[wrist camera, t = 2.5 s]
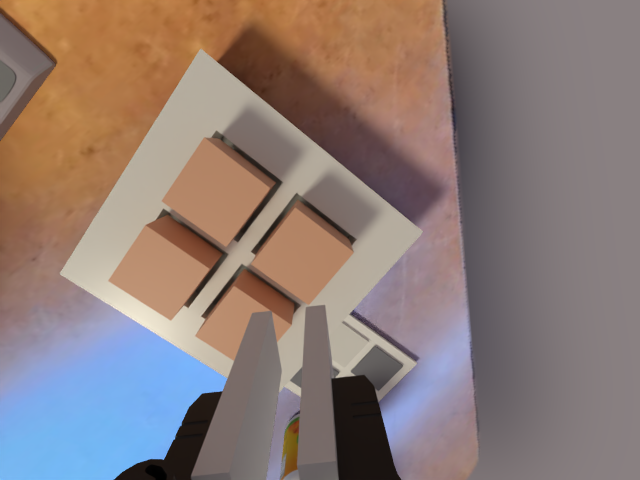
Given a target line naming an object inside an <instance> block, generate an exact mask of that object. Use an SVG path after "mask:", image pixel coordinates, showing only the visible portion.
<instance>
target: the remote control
mask: <svg viewBox="0 0 640 480" xmlns="http://www.w3.org/2000/svg"><path fill="white" fill-rule="evenodd" d="M55 66H56V64H55V63H54V62H53V61H52V60H51V59H50V58H49V57H48V56H47V55H46V54H45V53H44V52H43V51H42V50H41V49H39V48H38V47H37V46H36V45H35V44H34V43H33V42H32V41H31V40H30V39H29V38H28V37H26V36H25V35H24V34H23V33H22V32H21V31H20V30H19V29H18V28H17V27H15V26H14V25H13V24H12V23H11V22H10V21H9V20H8V19H7V18H6V17H4V16H3V15H2V14H1V13H0V141H1V139H2V138H3V137H4V135H5V134H6V132H7V131H8V130H9V128H10V127H11V126H12V124H13V123H14V122H15V120H16V119H17V118H18V116H19V115H20V113H21V112H22V111H23V109H24V108H25V107H26V105H27V104H28V103H29V101H30V100H31V98H32V97H33V96H34V94H35V93H36V92H37V90H38V89H39V88H40V86H41V85H42V84H43V82H44V81H45V79H46V78H47V77H48V75H49V74H50V73H51V71H52V70H53V69H54V67H55Z"/></svg>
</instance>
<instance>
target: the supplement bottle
mask: <svg viewBox="0 0 640 480" xmlns="http://www.w3.org/2000/svg"><path fill="white" fill-rule="evenodd" d="M299 420H300V413H299V414H297V415H295V416H294V417H293V418H292V419H291V420H290V421H289V422H288V424H287V426H286V429H285V435H284V445H283V454H282V463H281V473H280V480H300V479H299V474H298V468H297V457H298V438H299Z"/></svg>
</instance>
